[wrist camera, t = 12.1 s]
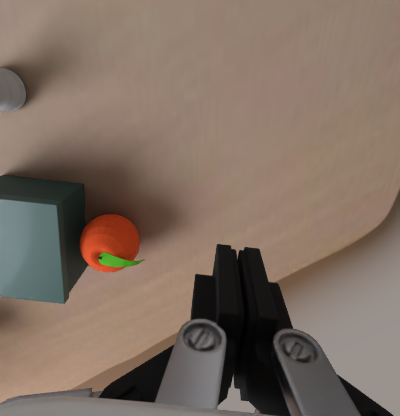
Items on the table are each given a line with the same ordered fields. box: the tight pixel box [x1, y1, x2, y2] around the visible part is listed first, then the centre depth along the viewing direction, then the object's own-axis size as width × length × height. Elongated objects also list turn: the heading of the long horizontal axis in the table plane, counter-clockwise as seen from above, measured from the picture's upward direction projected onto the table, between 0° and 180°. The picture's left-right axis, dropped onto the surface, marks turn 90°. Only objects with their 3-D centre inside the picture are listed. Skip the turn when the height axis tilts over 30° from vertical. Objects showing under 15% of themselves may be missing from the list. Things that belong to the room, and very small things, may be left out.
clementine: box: [80, 214, 144, 272], centre depth 37 cm, size 8×7×7 cm
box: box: [0, 175, 87, 304], centre depth 37 cm, size 12×10×8 cm
